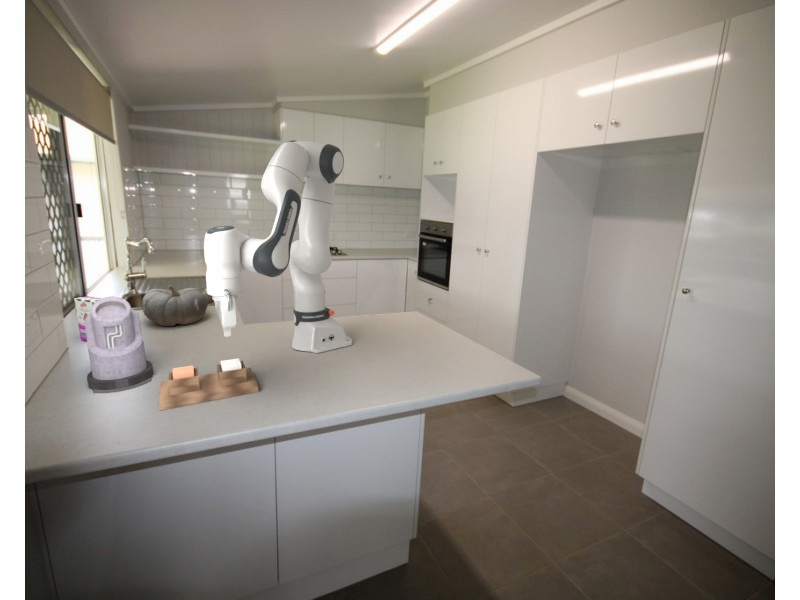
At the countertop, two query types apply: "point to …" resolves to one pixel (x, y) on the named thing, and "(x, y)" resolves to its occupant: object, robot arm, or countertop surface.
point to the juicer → (115, 347)
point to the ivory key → (230, 365)
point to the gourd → (174, 306)
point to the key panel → (206, 387)
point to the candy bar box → (83, 312)
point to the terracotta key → (183, 372)
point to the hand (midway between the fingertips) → (227, 335)
